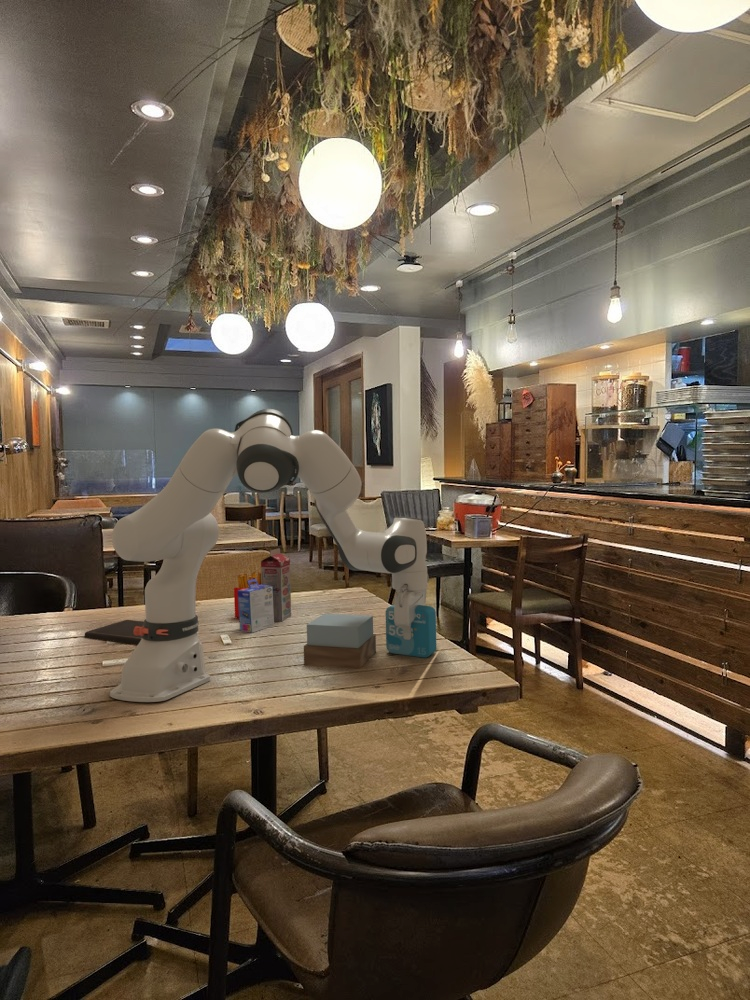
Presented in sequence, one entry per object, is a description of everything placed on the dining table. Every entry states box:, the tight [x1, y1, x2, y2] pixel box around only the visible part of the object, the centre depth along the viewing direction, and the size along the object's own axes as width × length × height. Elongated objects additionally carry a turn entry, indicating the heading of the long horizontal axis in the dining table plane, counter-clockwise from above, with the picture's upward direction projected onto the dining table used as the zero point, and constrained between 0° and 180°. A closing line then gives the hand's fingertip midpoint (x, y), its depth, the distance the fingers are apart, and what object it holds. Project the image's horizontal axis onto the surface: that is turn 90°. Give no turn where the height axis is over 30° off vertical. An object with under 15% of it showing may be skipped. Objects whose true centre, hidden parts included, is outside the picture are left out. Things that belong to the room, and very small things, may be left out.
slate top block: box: [306, 613, 374, 648], centre depth 160 cm, size 12×13×5 cm
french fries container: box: [233, 571, 262, 620], centre depth 205 cm, size 7×9×14 cm
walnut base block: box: [303, 633, 377, 669], centre depth 161 cm, size 14×14×5 cm
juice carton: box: [260, 547, 292, 622], centre depth 202 cm, size 7×7×22 cm
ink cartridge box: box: [238, 578, 275, 634], centre depth 191 cm, size 10×6×14 cm, turn 147°
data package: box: [385, 604, 437, 659], centre depth 163 cm, size 12×4×12 cm, turn 62°
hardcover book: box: [84, 619, 144, 646], centre depth 187 cm, size 16×23×2 cm
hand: (410, 635), depth 163 cm, fingers closed on data package, 5 cm apart
